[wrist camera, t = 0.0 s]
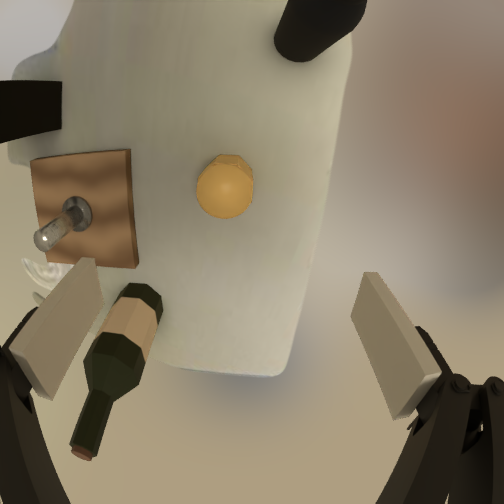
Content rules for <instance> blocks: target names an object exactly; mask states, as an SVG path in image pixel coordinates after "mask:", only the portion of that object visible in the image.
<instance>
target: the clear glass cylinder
mask: <svg viewBox="0 0 504 504" xmlns="http://www.w3.org/2000/svg"><path fill="white" fill-rule="evenodd" d="M92 218H93V214H92V209H91V207H90V205H89V203H88V202H87V201H86V200H85V199H84V198H82V197H80V196H72V197H70V198H68V199H67V200H66V201H65V202H64V204H63V206H62V213H61V214H59V215H58V216H57V217H55V218H54V219H52V220H51V221H50V222H48V223H47V224H45V225H44V226H43V227H41V228H40V229H39V230H37V231H36V232H35V234H34V243H35V245H36V247H37V248H38V249H39V250H40V251H43V252H47V251H49V250H50V249H51V248H52V247H53V246H54V245H55V244H56V243H58V242H59V241H60V240H61V239H62V238H63V237H65V236H66V235H67V234H68V233H69V232H70V231H72V230H73V231H76V232H82V231H84V230H86V229H87V228H88V227H89V226H90V224H91V222H92Z"/></svg>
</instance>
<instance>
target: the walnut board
mask: <svg viewBox="0 0 504 504" xmlns="http://www.w3.org/2000/svg"><path fill="white" fill-rule="evenodd" d="M30 166H31V176H32V184H33V192H34V199H35V205H36V211H37V217H38V222H39V227H40V228H41V227H43V226H44V225H45V224H47V223H48V222H50V221H51V220H52V219H54V218H55V217H57V216H58V215H59V214H61V213H62V206H63V204H64V202H65V201H66V200H67V199H68V198H70V197H72V196H80V197H82V198H84V199H85V200H86V201H87V202H88V203H89V205H90V207H91V209H92V214H93V218H92V222H91V224H90V226H89V227H88V228H87V229H86V230H84V231H82V232H76V231H73V230H72V231H70V232H69V233H68V234H67V235H66V236H65V237H63V238H62V239H61V240H60V241H59V242H58V243H56V244H55V245H54V246H53V247H52V248H51V249H50V250H49V251H47V252H45V254H46V258H47V262H53V263H65V264H76V263H77V262H78V261H79V260H80V259H81V258H82V257H86V258H95V264H96V266H103V267H117V268H131V269H135V268H136V267H137V265H138V264H139V258H138V250H137V241H136V232H135V221H134V210H133V196H132V178H131V149H123V150H108V151H95V152H85V153H75V154H66V155H58V156H51V157H44V158H37V159H34V160H31V161H30Z"/></svg>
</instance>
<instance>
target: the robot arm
mask: <svg viewBox="0 0 504 504" xmlns="http://www.w3.org/2000/svg"><path fill="white" fill-rule="evenodd" d="M104 304H105V303H104V299H103V295H102V291H101V287H100V283H99V278H98V273H97V269H96V264H95V258H86V257H82V258H81V259H80V260H79V261H78V262H77V263H76V264H75V265H74V266H73V268H72V269H71V270H70V271H69V272H68V273H67V274H66V275H65V277H64V278H63V279H62V280H61V281H60V282H59V283H58V285H57V286H56V287H55V288H54V289H53V290H52V292H51V293H50V294H49V295H48V296H47V298H46V299H45V300H44V301H43V303H42V304H41V305H40V306H39V307H35V308H34V309H32V310H31V311H30V312H28V313H27V315H26V316H25V317H24V318H23V320H22V322H20V323H19V325H18V326H17V328H16V329H15V330H14V331H13V333H12V334H11V335H10V337H9V338H8V339H7V341H6V342H5V344H4V345H3V346H2V348H1V346H0V496H1V499H2V502H3V504H71V503H70V501H69V499H68V497H67V495H66V493H65V491H64V489H63V487H62V484H61V482H60V480H59V478H58V475H57V473H56V470H55V468H54V465H53V463H52V460H51V457H50V455H49V452H48V449H47V446H46V443H45V441H44V438H43V434H42V431H41V428H40V424H39V421H38V417H37V414H36V410H35V407H34V402H33V398H32V396H31V394H30V393H29V392H30V390H31V388H32V387H33V389H34V390H35V392H36V393H37V394H38V396H40V397H43V398H46V399H49V400H51V401H52V400H53V398H54V396H55V394H56V392H57V390H58V388H59V385H60V384H61V382H62V380H63V378H64V376H65V374H66V372H67V370H68V368H69V366H70V364H71V362H72V360H73V358H74V356H75V354H76V353H77V351H78V349H79V347H80V345H81V343H82V342H83V340H84V338H85V336H86V335H87V333H88V331H89V329H90V327H91V326H92V324H93V322H94V321H95V319H96V317H97V315H98V314H99V312H100V310H101V309H102V307H103V305H104ZM351 318H352V321H353V323H354V325H355V328H356V330H357V332H358V335H359V337H360V339H361V341H362V344H363V346H364V348H365V351H366V353H367V355H368V358H369V360H370V362H371V365H372V367H373V370H374V372H375V375H376V377H377V380H378V382H379V384H380V387H381V390H382V392H383V395H384V397H385V400H386V403H387V405H388V408H389V410H390V413H391V416H392V418H393V420H397V419H401V418H406V417H409V416H410V414H411V413H412V412H413V411H414V410H415V408H416V410H417V412H418V414H419V415H418V416H417V417H416V418H415V419H414V421H413V422H412V423H411V424H410V425H409V427H408V428H407V430H409V429H410V428H411V427H412V429H411V431H410V434H409V436H408V439H407V441H406V443H405V446H404V448H403V451H402V453H401V455H400V457H399V459H398V461H397V464H396V466H395V468H394V470H393V472H392V474H391V476H390V478H389V480H388V482H387V484H386V486H385V487H384V489H383V491H382V493H381V495H380V496H379V498H378V500H377V502H376V504H445V501H446V499H447V496H448V493H449V497H448V504H504V382H503V381H502V380H501V379H500V378H498V377H489V378H488V379H487V380H486V382H485V383H484V384H483V385H474V384H471V383H470V382H469V381H468V379H467V378H466V377H464V376H462V375H460V374H453V373H452V371H451V369H450V368H449V366H448V364H447V363H446V361H445V359H444V358H443V356H442V354H441V353H440V351H439V350H437V349H438V348H437V347H436V345H435V344H434V343H433V340H432V339H431V337H430V336H429V334H428V333H427V332H426V331H425V330H423V329H422V328H421V327H420V326H415V327H414V325H413V324H412V322H411V321H410V319H409V317H408V316H407V314H406V313H405V311H404V310H403V308H402V307H401V305H400V304H399V302H398V301H397V299H396V298H395V297H394V295H393V294H392V292H391V291H390V289H389V288H388V287H387V285H386V284H385V283H384V281H383V279H382V278H381V277H380V275H379V274H378V273H377V272H364V274H363V278H362V281H361V284H360V288H359V291H358V295H357V298H356V301H355V304H354V307H353V310H352V313H351ZM482 424H483V431H481V425H482Z"/></svg>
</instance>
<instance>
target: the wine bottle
mask: <svg viewBox="0 0 504 504" xmlns="http://www.w3.org/2000/svg"><path fill="white" fill-rule="evenodd" d="M366 3H367V0H288V3H287V5H286V7H285V10H284V12H283V15H282V17H281V20H280V22H279V25H278V27H277V30H276V33H275V36H274V44H275V46H276V49H277V51H278V52H279V53H280V54H281V55H282V56H283V57H285V58H287V59H288V60H291V61H294V62H306V61H310V60H312V59H313V58H315V57H317V56H318V55H319V54H320V53H322V52H323V51H325V50H326V49H327V48H329V47H330V46H331V45H333V44H334V43H335V42H337V41H338V40H340V39H341V38H342V37H344V36H345V35H347V34H348V33H350V32H351V31H353V29H354V28H355V27H356V26H357V25H358V23H359V22H360V20H361V19H362V17H363V15H364V12H365V8H366Z"/></svg>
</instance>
